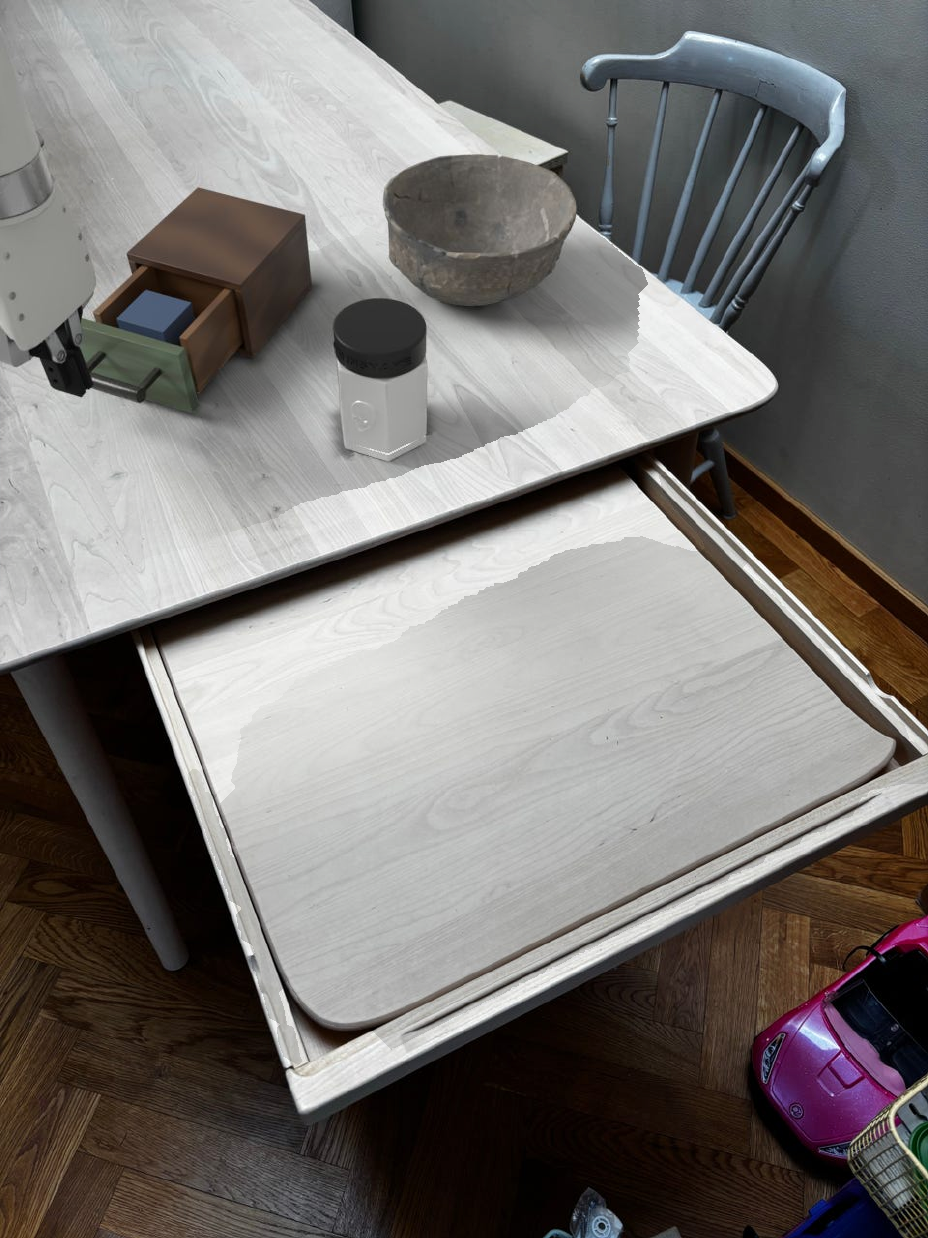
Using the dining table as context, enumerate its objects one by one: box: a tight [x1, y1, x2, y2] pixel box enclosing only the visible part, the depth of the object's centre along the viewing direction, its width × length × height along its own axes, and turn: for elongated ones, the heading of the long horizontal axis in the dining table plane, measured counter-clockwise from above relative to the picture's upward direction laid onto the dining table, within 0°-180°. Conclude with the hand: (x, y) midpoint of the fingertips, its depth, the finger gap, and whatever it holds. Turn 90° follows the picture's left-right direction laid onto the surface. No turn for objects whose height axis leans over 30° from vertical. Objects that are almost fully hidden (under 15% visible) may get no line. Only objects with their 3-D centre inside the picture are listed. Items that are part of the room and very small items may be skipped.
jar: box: [332, 297, 429, 462], centre depth 83 cm, size 9×8×12 cm
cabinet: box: [126, 187, 313, 359], centre depth 95 cm, size 14×13×9 cm
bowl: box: [381, 153, 577, 307], centre depth 99 cm, size 21×21×10 cm
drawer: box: [79, 265, 244, 414], centre depth 88 cm, size 17×11×7 cm
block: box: [117, 290, 195, 347], centre depth 88 cm, size 5×5×6 cm
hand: (73, 387), depth 78 cm, fingers closed
